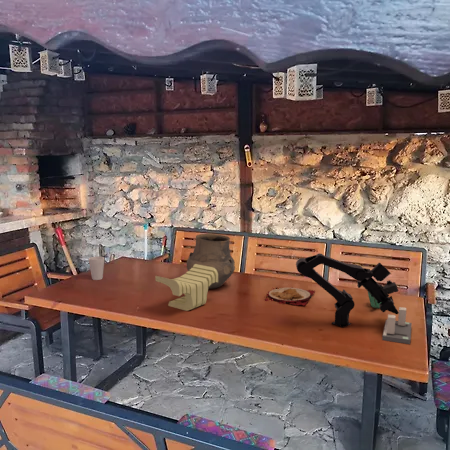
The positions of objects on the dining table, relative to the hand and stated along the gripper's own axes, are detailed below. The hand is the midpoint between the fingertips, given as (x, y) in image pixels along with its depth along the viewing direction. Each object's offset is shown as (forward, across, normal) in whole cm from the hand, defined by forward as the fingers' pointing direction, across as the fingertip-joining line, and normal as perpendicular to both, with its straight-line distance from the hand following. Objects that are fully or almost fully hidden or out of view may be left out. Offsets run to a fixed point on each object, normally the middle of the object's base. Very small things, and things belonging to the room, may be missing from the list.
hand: (398, 313), depth 206 cm
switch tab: (+4, -1, +2) cm, 5 cm away
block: (0, -12, +6) cm, 13 cm away
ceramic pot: (-65, +42, +74) cm, 107 cm away
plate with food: (-32, +33, +42) cm, 63 cm away
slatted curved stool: (-67, +6, +76) cm, 101 cm away
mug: (0, +25, +10) cm, 27 cm away
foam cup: (-117, +40, +126) cm, 176 cm away
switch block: (+4, -6, +5) cm, 9 cm away
